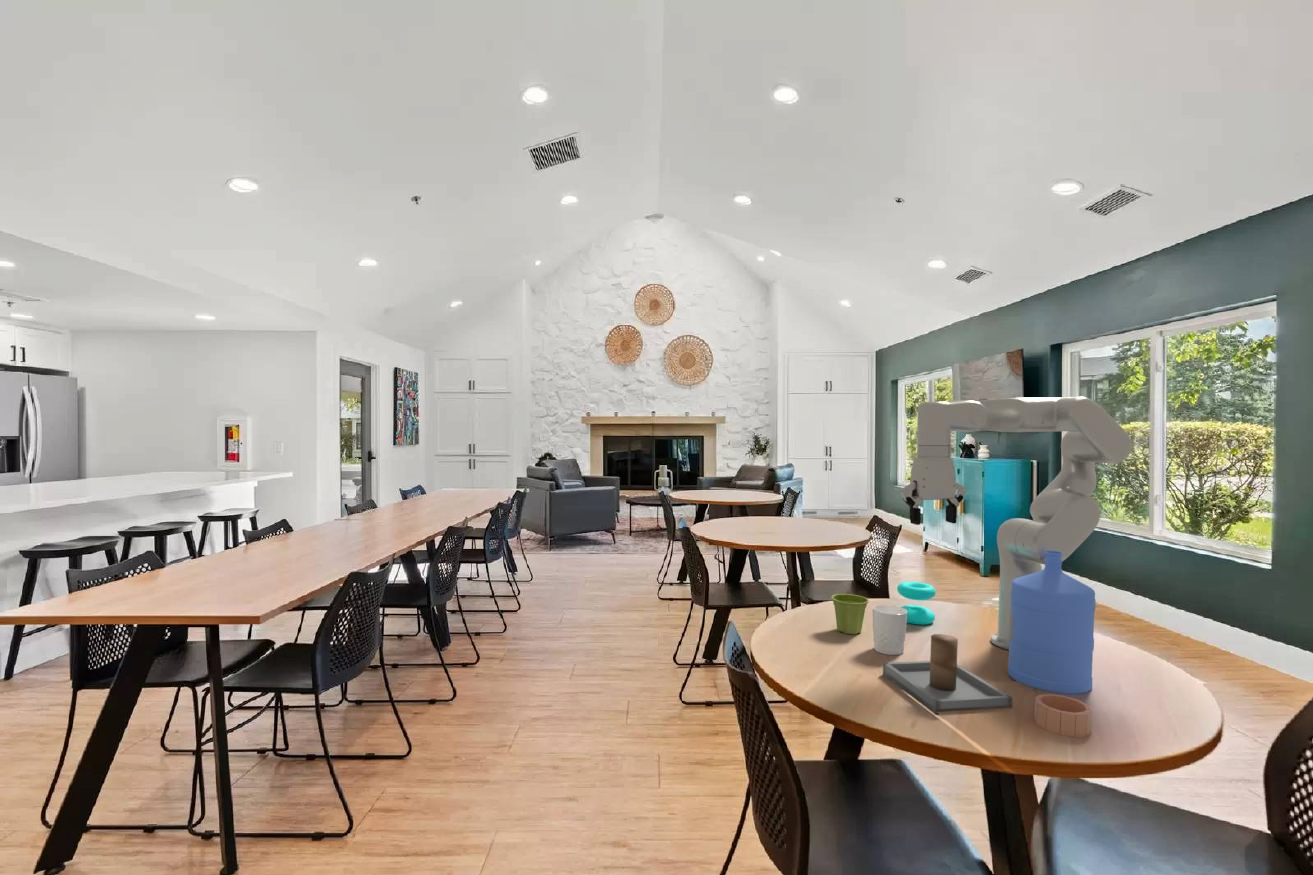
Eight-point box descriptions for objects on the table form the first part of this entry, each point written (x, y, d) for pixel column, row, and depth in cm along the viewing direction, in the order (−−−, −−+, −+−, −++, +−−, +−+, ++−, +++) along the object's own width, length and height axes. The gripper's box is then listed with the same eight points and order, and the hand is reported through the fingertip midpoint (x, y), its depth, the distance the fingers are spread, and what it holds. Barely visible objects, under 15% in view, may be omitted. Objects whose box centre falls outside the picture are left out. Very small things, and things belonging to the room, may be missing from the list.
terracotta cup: (1064, 716, 126) (1065, 693, 126) (1102, 738, 118) (1103, 713, 118) (1024, 719, 125) (1024, 695, 125) (1058, 741, 116) (1059, 715, 116)
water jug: (1110, 695, 137) (1116, 559, 136) (1042, 698, 134) (1048, 560, 134) (1053, 666, 152) (1058, 544, 151) (991, 669, 150) (996, 545, 149)
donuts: (902, 578, 192) (939, 584, 187) (900, 613, 193) (937, 619, 187) (893, 585, 184) (931, 591, 179) (892, 621, 184) (930, 628, 179)
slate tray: (949, 671, 148) (950, 659, 148) (1011, 710, 129) (1012, 697, 128) (882, 674, 146) (883, 662, 146) (935, 714, 126) (936, 701, 126)
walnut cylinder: (946, 681, 140) (948, 633, 140) (961, 690, 135) (963, 641, 135) (924, 682, 139) (926, 634, 139) (938, 691, 134) (940, 642, 134)
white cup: (901, 646, 164) (902, 605, 164) (910, 657, 157) (911, 615, 156) (868, 644, 165) (869, 604, 165) (875, 655, 157) (876, 613, 157)
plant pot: (828, 624, 180) (829, 592, 180) (864, 626, 179) (865, 594, 179) (832, 635, 171) (833, 602, 171) (870, 638, 170) (871, 604, 170)
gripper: (955, 451, 167) (954, 519, 167) (892, 452, 163) (892, 522, 163) (975, 452, 159) (975, 524, 160) (910, 454, 156) (910, 527, 156)
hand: (933, 523), depth 162 cm, fingers open, 9 cm apart
